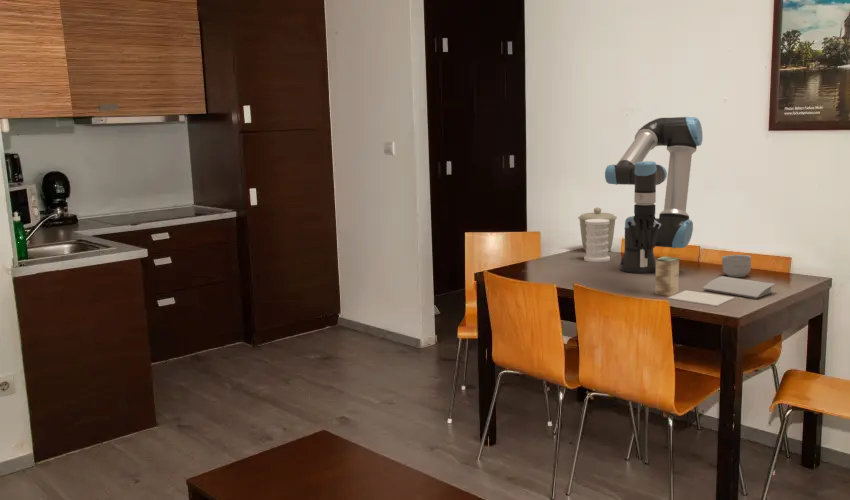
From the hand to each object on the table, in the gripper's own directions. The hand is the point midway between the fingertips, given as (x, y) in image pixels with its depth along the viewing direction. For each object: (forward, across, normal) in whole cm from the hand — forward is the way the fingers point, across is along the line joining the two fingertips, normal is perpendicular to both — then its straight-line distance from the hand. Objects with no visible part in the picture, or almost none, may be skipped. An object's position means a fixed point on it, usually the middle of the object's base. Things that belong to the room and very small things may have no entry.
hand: (643, 266), depth 279 cm
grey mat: (+9, +22, 0) cm, 24 cm away
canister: (+9, -58, +59) cm, 83 cm away
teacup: (+9, +17, +44) cm, 48 cm away
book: (+10, +28, +18) cm, 35 cm away
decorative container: (+9, -46, +40) cm, 61 cm away
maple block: (+9, +9, 0) cm, 13 cm away
